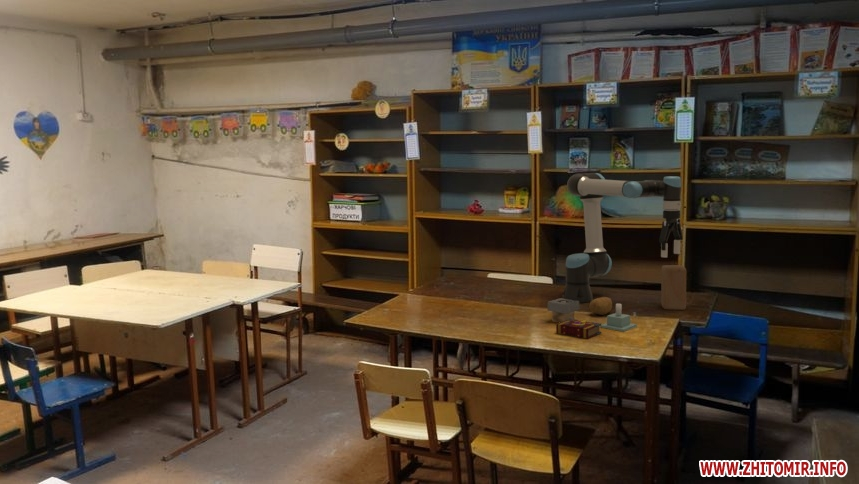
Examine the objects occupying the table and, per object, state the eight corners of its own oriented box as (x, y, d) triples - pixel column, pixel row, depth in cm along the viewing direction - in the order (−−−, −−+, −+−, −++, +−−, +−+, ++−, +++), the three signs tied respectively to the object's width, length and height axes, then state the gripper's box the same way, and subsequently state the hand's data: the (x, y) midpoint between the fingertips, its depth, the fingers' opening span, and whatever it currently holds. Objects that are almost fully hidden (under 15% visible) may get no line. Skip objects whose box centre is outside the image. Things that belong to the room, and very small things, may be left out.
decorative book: (588, 340, 265) (588, 327, 265) (553, 333, 276) (553, 322, 275) (601, 334, 274) (601, 322, 273) (567, 328, 284) (567, 317, 284)
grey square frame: (547, 310, 295) (547, 301, 295) (560, 306, 302) (560, 298, 302) (566, 313, 288) (566, 304, 288) (579, 309, 295) (579, 301, 295)
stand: (552, 321, 296) (552, 301, 295) (561, 318, 301) (561, 299, 300) (565, 323, 291) (565, 303, 290) (574, 320, 296) (574, 301, 295)
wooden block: (686, 310, 310) (686, 268, 308) (663, 309, 312) (664, 268, 310) (682, 305, 320) (683, 265, 317) (660, 305, 322) (661, 264, 319)
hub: (600, 327, 283) (600, 304, 282) (613, 322, 291) (613, 300, 289) (623, 331, 275) (623, 308, 274) (636, 326, 283) (637, 303, 282)
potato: (617, 312, 309) (617, 296, 308) (604, 318, 298) (604, 301, 297) (598, 310, 315) (598, 293, 314) (584, 315, 305) (584, 298, 304)
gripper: (667, 212, 292) (666, 259, 295) (690, 208, 310) (689, 252, 313) (651, 211, 298) (650, 258, 300) (675, 207, 315) (674, 251, 318)
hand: (670, 255), depth 307 cm, fingers open, 13 cm apart
